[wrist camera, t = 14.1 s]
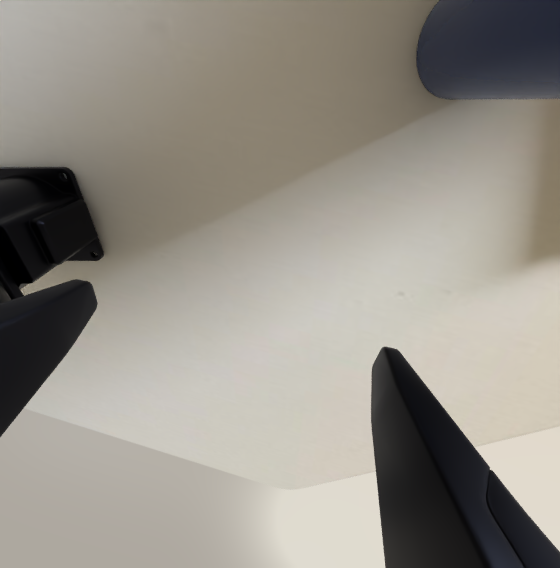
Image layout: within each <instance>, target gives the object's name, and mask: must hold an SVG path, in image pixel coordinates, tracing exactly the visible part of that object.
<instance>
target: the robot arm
mask: <svg viewBox="0 0 560 568" xmlns="http://www.w3.org/2000/svg"><path fill="white" fill-rule="evenodd" d="M63 173H64V174H65V175H66V176H67V179H66V178H65V177H64V176H63ZM94 252H95V253H97V255H96V254H94ZM103 256H104V252H103V250H102V247H101V244H100V242H99V239H98V235H97V232H96V230H95V227H94V224H93V222H92V219H91V216H90V214H89V211H88V208H87V206H86V203H85V202H84V199H83V196H82V194H81V191H80V188H79V186H78V183H77V180H76V178H75V175H74V173H73V172H72V171H71V170H70V169H68V168H66V167H0V437H1V436H2V434H3V433H4V432H5V431H6V429H7V428H8V427H9V426H10V424H11V423H12V422H13V421H14V419H15V418H16V416H18V414H19V413H20V412H21V411H22V409H23V408H24V407H25V406H26V404H27V403H28V402H29V401H30V399H31V398H32V397H33V396H34V394H35V393H36V392H37V391H38V389H39V388H40V387H41V386H42V384H43V383H44V382H45V381H46V379H47V378H48V377H49V376H50V374H51V373H52V372H53V371H54V369H55V368H56V367H57V366H58V364H59V363H60V362H61V361H62V359H63V358H64V357H65V355H66V354H67V353H68V351H69V350H70V349H71V347H72V346H73V344H74V343H75V341H76V340H77V338H78V337H79V335H80V333H81V332H82V330H83V329H84V327H85V326H86V324H87V323H88V321H89V319H90V318H91V316H92V315H93V313H94V312H95V310H96V308H97V299H96V296H95V293H94V289H93V286H92V284H91V283H90V282H88V281H83V280H78V279H75V280H71V281H68V282H65V283H62V284H59V285H56V286H53V287H50V288H47V289H44V290H41V291H37V292H34V293H31V294H28V295H25V296H24V295H23V294H22V292H21V291H20V289H21V288H23V287H24V286H26V285H27V284H30V283H33V282H34V281H36V280H37V279H39V278H40V277H41V276H43V275H44V274H46V273H47V272H48V271H50V270H51V269H53V268H54V267H56V266H57V265H59V264H62V263H63V262H64V261H98V260H100V259H101V258H102V257H103ZM371 424H372V435H373V446H374V456H375V466H376V476H377V485H378V496H379V506H380V516H381V526H382V536H383V546H384V556H385V566H386V568H560V552H559V551H558V549H557V548H556V547H555V546H554V545H553V544H552V543H551V541H550V540H549V539H548V538H547V537H546V535H545V534H544V533H543V532H542V531H541V530H540V529H539V527H538V526H537V525H536V524H535V523H534V521H533V520H532V519H531V518H530V517H529V516H528V515H527V513H526V512H525V511H524V510H523V508H522V507H521V506H520V505H519V503H518V502H517V501H516V500H515V499H514V497H513V496H512V495H511V494H510V492H509V491H508V490H507V488H506V487H505V486H504V485H503V483H502V482H501V481H500V479H499V478H498V477H497V476H496V474H495V473H494V472H493V471H492V470H490V467H489V466H488V464H487V463H486V462H485V461H484V459H483V458H482V457H481V455H480V454H479V453H478V452H477V450H476V449H475V448H474V446H473V445H472V444H471V443H470V441H469V440H468V439H467V437H466V436H465V435H464V434H463V432H462V431H461V430H460V428H459V427H458V426H457V425H456V423H455V422H454V421H453V419H452V418H451V417H450V416H449V414H448V413H447V412H446V410H445V409H444V408H443V407H442V405H441V404H440V403H439V402H438V400H437V399H436V398H435V396H434V395H433V394H432V393H431V391H430V390H429V389H428V387H427V386H426V385H425V384H424V382H423V381H422V380H421V378H420V377H419V376H418V375H417V373H416V372H415V371H414V370H413V368H412V367H411V366H410V364H409V363H408V362H407V361H406V359H405V358H404V357H403V355H402V354H401V353H400V352H399V351H398V350H397V349H394V348H389V347H383V348H382V349H381V350H380V352H379V354H378V356H377V358H376V360H375V362H374V364H373V367H372V392H371Z"/></svg>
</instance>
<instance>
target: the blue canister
mask: <svg viewBox="0 0 560 568" xmlns="http://www.w3.org/2000/svg"><path fill="white" fill-rule="evenodd" d="M417 68H418V73H419V76H420V79H421V81H422V83H423V85H424V86H425V87H426V89H427V90H428V91H429V92H431V93H432V94H433V95H435V96H437V97H439V98H443V99H451V100H453V99H560V0H439V2H438V3H437V4H436V5H435V7H434V8H433V10H432V11H431V13H430V14H429V16H428V18H427V20H426V22H425V24H424V26H423V28H422V31H421V34H420V38H419V42H418V47H417Z"/></svg>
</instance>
